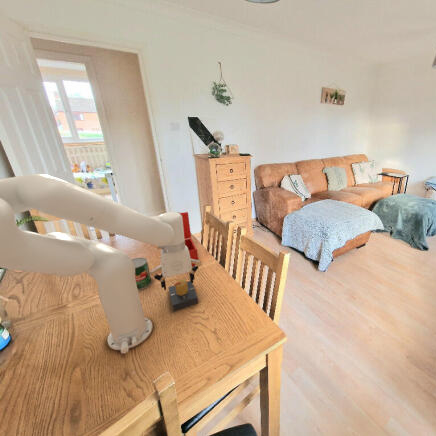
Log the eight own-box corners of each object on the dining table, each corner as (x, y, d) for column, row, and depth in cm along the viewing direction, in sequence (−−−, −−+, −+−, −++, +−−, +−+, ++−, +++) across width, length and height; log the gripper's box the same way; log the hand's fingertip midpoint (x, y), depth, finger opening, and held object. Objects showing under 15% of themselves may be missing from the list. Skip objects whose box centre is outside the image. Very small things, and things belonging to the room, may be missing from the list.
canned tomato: (146, 276, 109) (141, 255, 104) (155, 282, 105) (150, 261, 100) (127, 285, 103) (121, 263, 98) (136, 292, 99) (130, 270, 94)
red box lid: (187, 212, 120) (185, 208, 124) (162, 216, 114) (160, 212, 118) (191, 237, 125) (189, 233, 130) (166, 242, 119) (165, 237, 124)
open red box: (198, 264, 119) (197, 249, 115) (173, 271, 113) (170, 255, 109) (193, 252, 129) (191, 238, 126) (169, 257, 123) (166, 243, 120)
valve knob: (187, 287, 98) (185, 277, 97) (189, 293, 95) (187, 283, 93) (175, 290, 96) (173, 280, 94) (177, 297, 93) (175, 287, 91)
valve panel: (198, 303, 94) (197, 296, 93) (173, 311, 90) (172, 304, 89) (191, 286, 104) (191, 280, 103) (169, 292, 99) (168, 286, 98)
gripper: (147, 255, 80) (154, 297, 86) (200, 245, 89) (203, 283, 95) (146, 246, 86) (152, 285, 92) (196, 237, 95) (199, 274, 101)
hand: (178, 284), depth 93 cm, fingers open, 9 cm apart
